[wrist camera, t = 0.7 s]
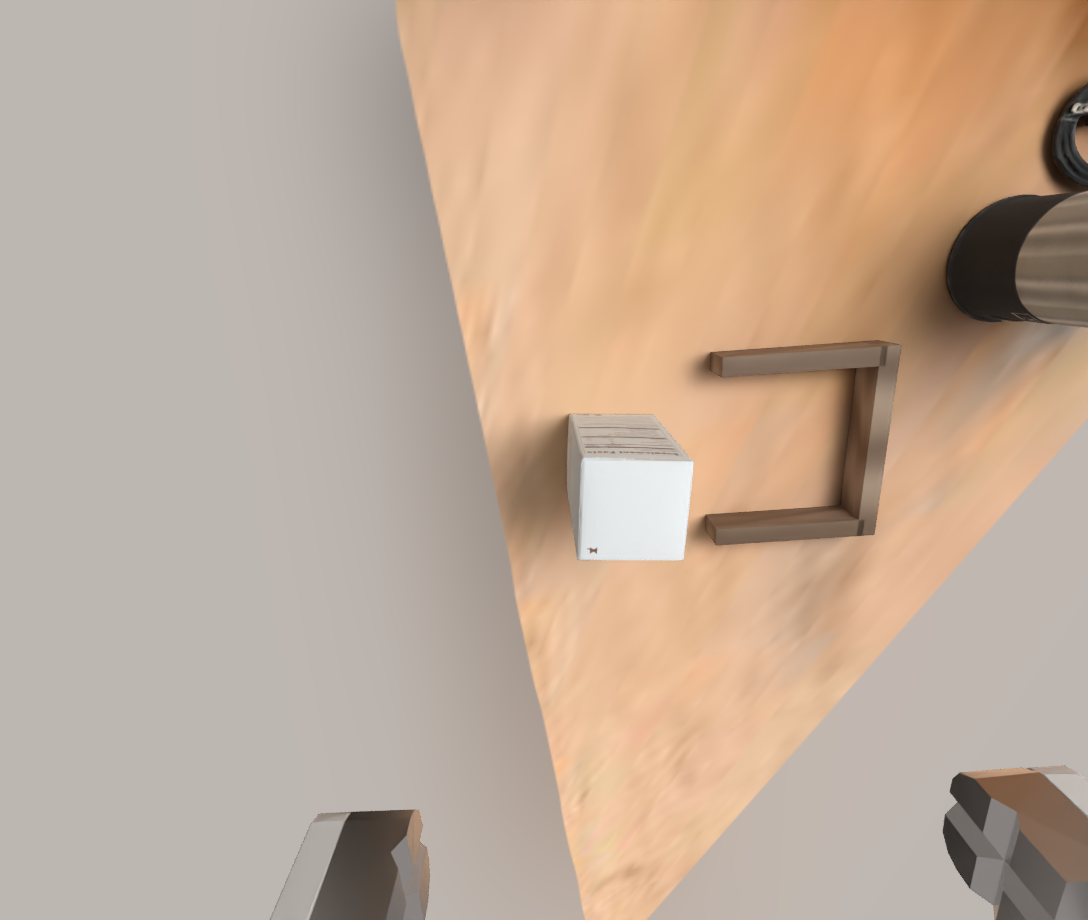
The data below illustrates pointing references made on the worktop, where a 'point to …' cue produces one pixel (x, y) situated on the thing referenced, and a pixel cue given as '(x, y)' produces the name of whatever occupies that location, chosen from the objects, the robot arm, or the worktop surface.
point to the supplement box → (627, 488)
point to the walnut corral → (863, 446)
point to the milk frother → (1030, 246)
